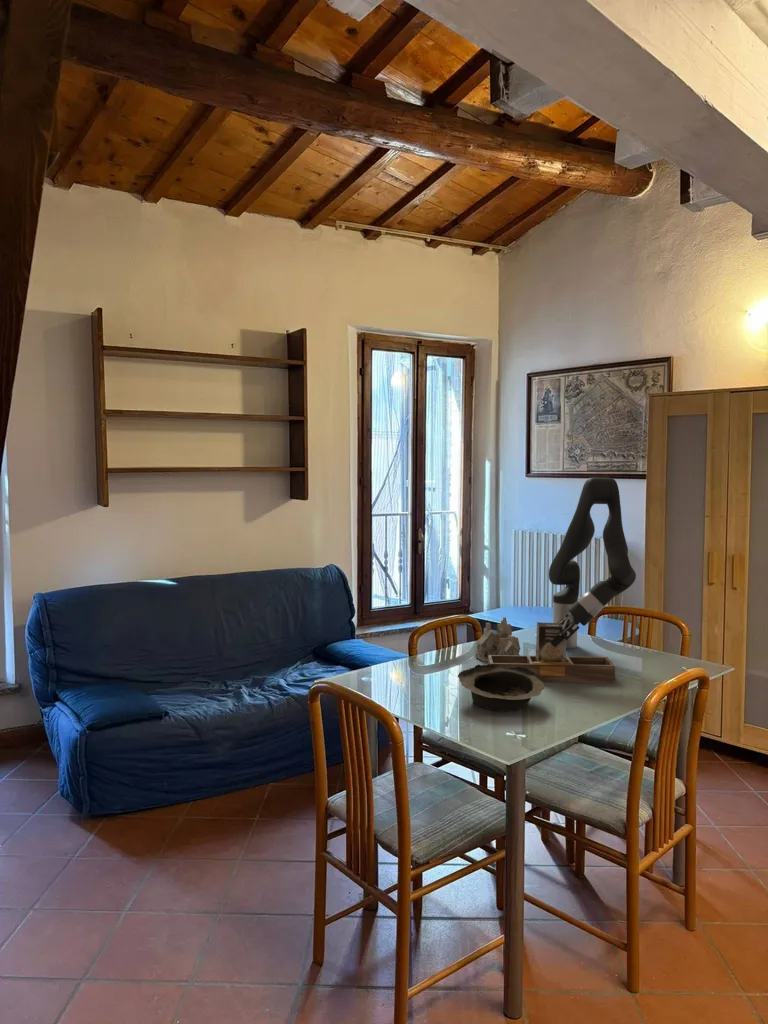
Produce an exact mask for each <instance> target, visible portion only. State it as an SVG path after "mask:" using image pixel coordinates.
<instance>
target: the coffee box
mask: <svg viewBox="0 0 768 1024" xmlns="http://www.w3.org/2000/svg"><path fill="white" fill-rule="evenodd" d="M562 626H563V623H562V624H561V623H553V622H536V637H535V639H536V641H535V643H536V644H535V656H536V662H566V656H567V648H566V639H565V640H563V641H562V642H561V643H560V644H558V645H557V646H556V647H554V646H553V645H552V644H551V641H552V640H553V639H554V638H555V637H556V636H557V635H559V633H560V632H561V628H562ZM565 629H567V627H565Z"/></svg>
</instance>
